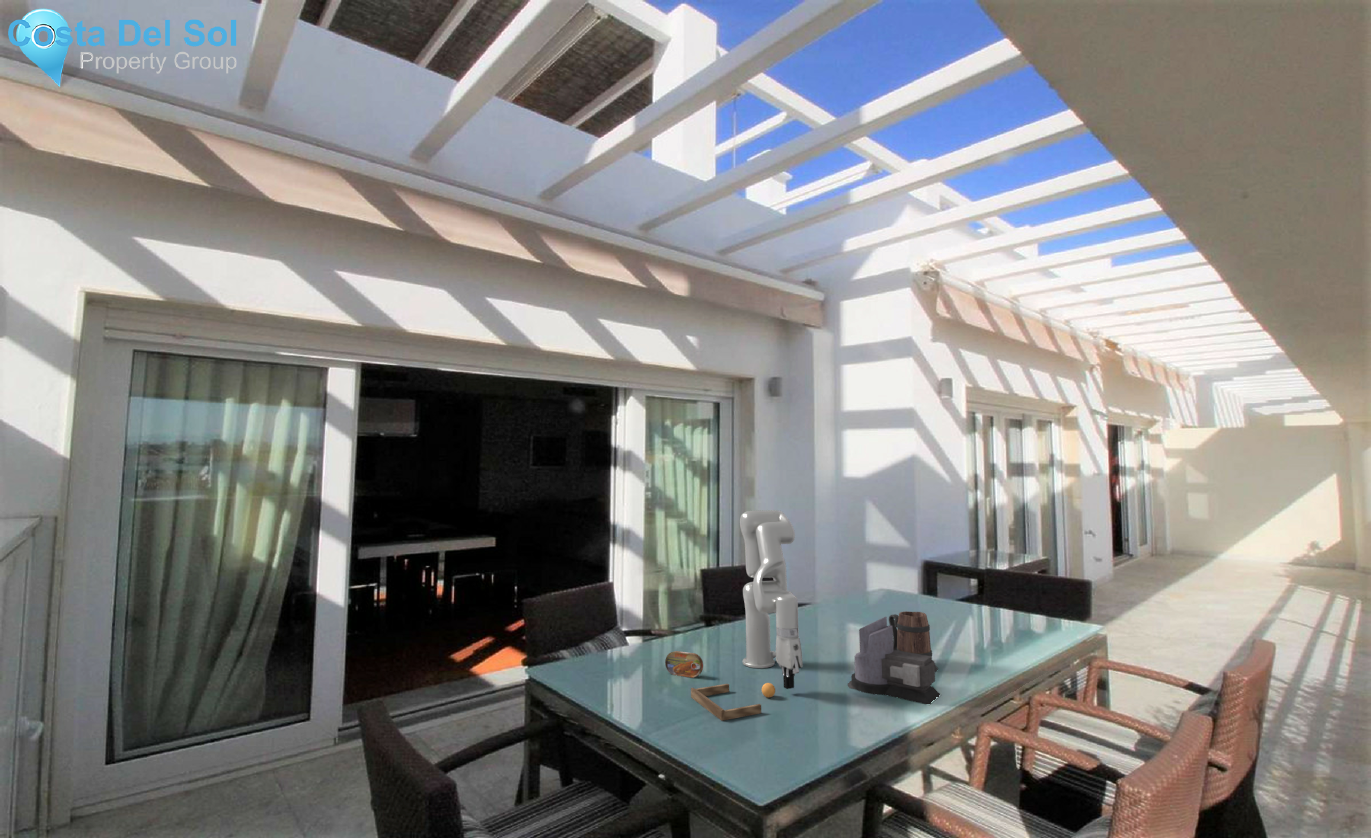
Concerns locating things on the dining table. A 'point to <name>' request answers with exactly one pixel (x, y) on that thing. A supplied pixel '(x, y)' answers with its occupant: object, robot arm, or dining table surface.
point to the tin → (684, 664)
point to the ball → (768, 690)
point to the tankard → (911, 633)
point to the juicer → (891, 667)
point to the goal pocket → (716, 710)
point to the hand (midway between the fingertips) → (788, 687)
